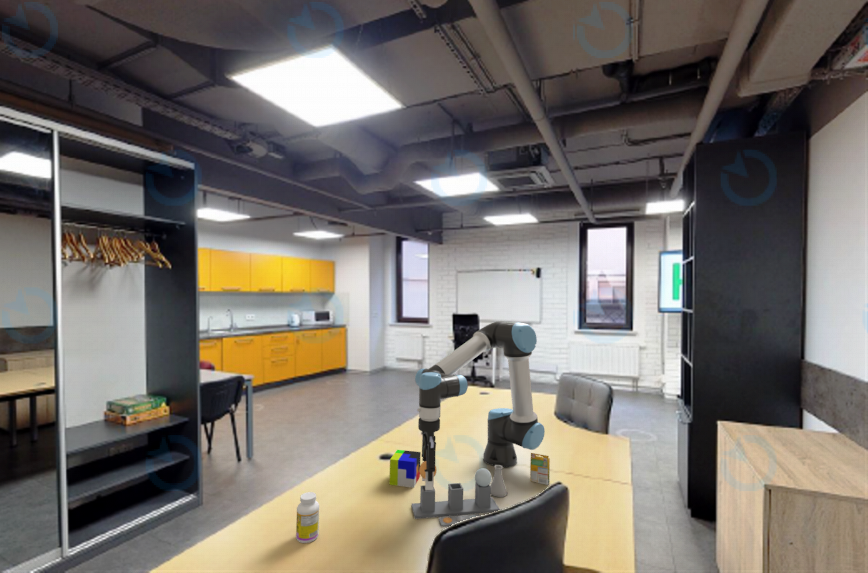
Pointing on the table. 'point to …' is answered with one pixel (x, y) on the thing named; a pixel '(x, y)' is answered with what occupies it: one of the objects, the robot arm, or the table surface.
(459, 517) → the card
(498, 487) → the flask
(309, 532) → the supplement bottle
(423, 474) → the orange ball
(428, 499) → the ball display stand
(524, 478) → the table surface
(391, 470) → the puzzle toy
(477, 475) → the light gray ball
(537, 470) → the crayon box
